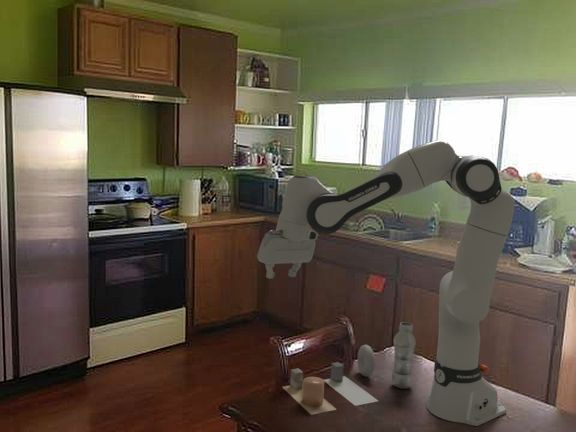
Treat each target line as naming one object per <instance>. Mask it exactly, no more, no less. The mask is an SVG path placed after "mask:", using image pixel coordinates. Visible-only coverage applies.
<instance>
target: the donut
mask: <svg viewBox="0 0 576 432" xmlns="http://www.w3.org/2000/svg"><path fill="white" fill-rule="evenodd" d="M375 362H376V359H375V354H374V350H373V349H372V347H371V346H370V345H368V344H364V345H361V346H360V348H359V349H358V353H357V366H358V370H359V373H360V374H361V376H363V377H365V378H368V377H371V376H372V375H373V374H374V371H375V366H376V365H375V364H376V363H375Z"/></svg>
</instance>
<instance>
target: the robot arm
mask: <svg viewBox="0 0 576 432" xmlns="http://www.w3.org/2000/svg"><path fill="white" fill-rule="evenodd" d="M443 181H445V182H446V184H447V185H449V187H450V189H452V190H453V191H454V192H455V193H457V194H459V195H461V196H463V197H465V198H469V201H470V211H469V214H468V216H467V219H466V223H465V224H464V225H465V226H464V228H463V231H462V234H461V237H460V239H459V241H458V245H457V248H456V253H455V255H456V256H455V260H454V265H453V269H452V270H451V271H449V272H447V273H446V274H444V275H443V276H442V278H441V281H440V283H439V292H438V293H439V295H438V340H437V351H436V358H435V359H434V367H433V372H434V374H433V380H432V383H431V389H430V393H429V394H428V400H427V403H426V408H427V410H428V411H429V412H430V413H431V414H432V415H434V416H436V417H438V418H440V419H443V420H446V421H450V422H454V423H461V424H466V425H470V426H475V427H478V426H480V425H483V424H485V423H487V422H489V421H491V420H493V419H496V418H497V417H500V416H502V415H504V414H505V413H507V411H506V408H505V406H504V405H503V404H502V402H499V400H498V398H499V397H498V392H497V389H496V388H495V386H493V385H492V384H491V383H490V382H489V381H487V379H485V378H484V377H483V376H482V373H484V374H488V373H489V372H490V371H489V370H490V368H489V366H487V365H485V364H479V358H480V357H479V355H480V345H481V334H480V322H481V321H483V320H484V319H485V318H486V317H487V316H488V313H489V311H490V303H491V297H492V292H493V289H494V283H495V278H496V272H497V268H498V265H499V264H498V263H499V260H500V258H501V254H502V253H503V249H504V247H505V244H506V240H507V238H508V234H509V233H510V229H511V226H512V221H513V217H514V212H515V200H514V198H513V196H512V195H511V194H510V193H508V192H507V191H506V190H503V188H502V184H501V180H500V172H499V170H498V167H497V166H496V165H495V163H494V162H493V161H491V160H490V159H489V158H487V157H485V156H479V155H473V154H472V155H457V153H456V152H455V150H454V148H453V147H452V145H451V144H450V143H448V142H447V141H445V140H443V139H438V140H437V139H435V140H433V141H429V142H426V143H425V142H424V143H423V144H420V145H418V146H415V147H413V148H410V149H408V150H406V151H404V152H402V153H400V154H398V155H396V156H395V157H394V158H391V160H389V161H388V162H387V163H385V164H384V165H383V166H382V168H381V169H380V170H379V171H378V172H377V173H376V174H375V175H374V176H373V177H372V178H370V179H369V180H367V181H366V182H365V181H364V182H363V183H362V184H359V185H357V186H355V187H353V188H351V189H349V190H347V191H345V192H342V193H340V194H336V193H334V192H333V191H332V190H330V189H329V188H327V187H326V186H325V185H324V184H323V183H321V181H320V180H319V179H318V177H316V176H313V175H305V174H304V175H301V174H298V175H294V176H292V177H290V179H289V180H288V182H287V185H286V187H285V190H284V194H283V198H282V201H281V203H282V204H281V205H282V208H281V211H280V214H279V215H278V218H277V219H278V220H277V224H276V228H275V230H273V229H270V230H269V231H268V232H266V233H265V234H264V236H263V238H262V241H261V243H260V246H259V249H258V250H257V251H258V252H257V255H256V258H257V261H259V262H260V263H263V264H264V265H265V269H266V275H265V277H266V278H267V279H269V280H270V279H271V280H272V279H274V278H275V276H276V275H275V274H276V272H274V269H273V268H275V265H278V264H293V265H292V267H291V268H290V269H288V274H287V276H288V277H290V278H295V277H297V272H298V271H299V270H300V269H301V266H302V264H303V263H304V264H305V263H310V262H311V260H312V259H313V256H314V254H315V253H314V252H315V248H316V240H317V239H318V236H319V234H322V235H330V234H331V235H332V234H334V233H336V232H338V231H339V230H340V229H341V228H342V227H343V226H344V225H345V224H346V222H347V221H348V220H349V219H350V218H352V217H353V216H355V215H357V214H359V213H361V212H363V211H365V210H367V209H369V208H371V207H372V206H375V205H376V204H379V203H381V202H383V201H387V200H390V199H395V198H397V197H398V198H399V197H401V196H406V195H409V194H412V193H415V192H419V191H420V190H423V189H424V188H426V187H428V186H430V185H432V184H434V183H438V182H443Z"/></svg>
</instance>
